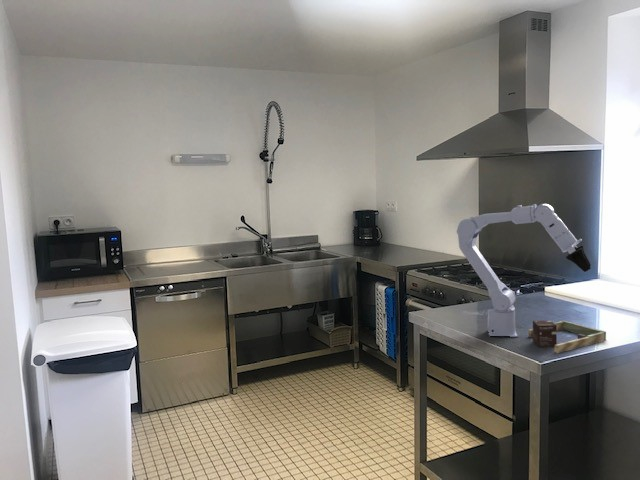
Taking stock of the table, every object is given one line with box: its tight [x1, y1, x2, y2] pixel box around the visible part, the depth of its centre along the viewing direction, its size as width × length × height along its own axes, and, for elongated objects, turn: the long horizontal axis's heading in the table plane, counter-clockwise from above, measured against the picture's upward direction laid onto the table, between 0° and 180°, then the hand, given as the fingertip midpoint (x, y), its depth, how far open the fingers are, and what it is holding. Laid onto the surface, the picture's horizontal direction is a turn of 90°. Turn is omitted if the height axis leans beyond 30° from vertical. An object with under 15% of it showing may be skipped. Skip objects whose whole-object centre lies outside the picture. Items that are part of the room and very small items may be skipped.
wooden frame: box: [528, 320, 607, 354], centre depth 179 cm, size 23×17×3 cm
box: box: [532, 320, 558, 348], centre depth 175 cm, size 6×6×7 cm
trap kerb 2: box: [577, 333, 587, 339], centre depth 174 cm, size 1×2×3 cm, turn 26°
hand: (588, 268), depth 171 cm, fingers open, 7 cm apart
